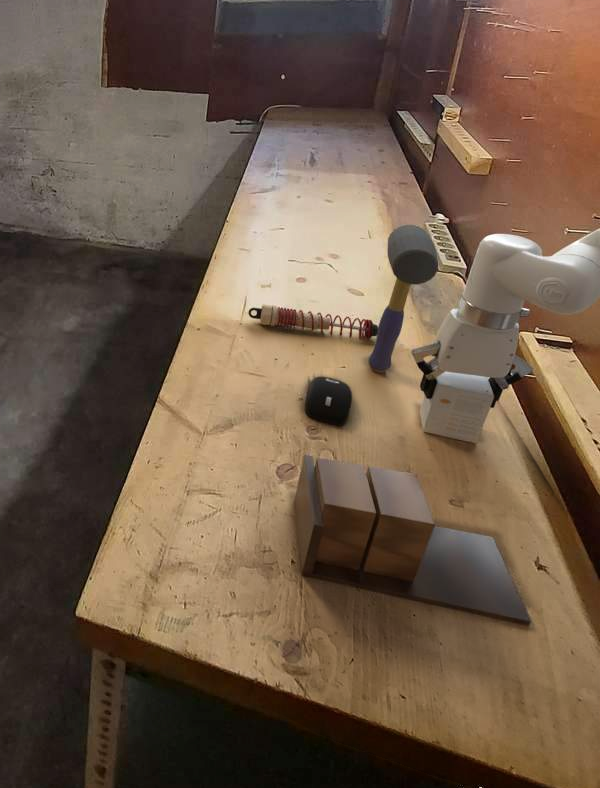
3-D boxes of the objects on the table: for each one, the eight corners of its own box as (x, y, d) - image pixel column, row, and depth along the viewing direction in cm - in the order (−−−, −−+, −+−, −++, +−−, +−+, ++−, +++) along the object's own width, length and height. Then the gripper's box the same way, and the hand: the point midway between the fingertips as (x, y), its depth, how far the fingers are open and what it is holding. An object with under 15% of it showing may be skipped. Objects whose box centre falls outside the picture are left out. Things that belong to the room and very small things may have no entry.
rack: (490, 540, 79) (518, 480, 74) (529, 625, 68) (564, 563, 63) (293, 502, 86) (306, 445, 80) (301, 575, 75) (316, 514, 70)
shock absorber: (392, 320, 123) (249, 300, 131) (398, 324, 118) (249, 303, 127) (389, 341, 123) (246, 320, 132) (395, 346, 119) (247, 324, 127)
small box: (470, 423, 99) (488, 375, 94) (476, 445, 94) (496, 396, 90) (418, 411, 102) (433, 364, 97) (421, 432, 98) (437, 384, 93)
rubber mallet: (401, 393, 107) (447, 253, 93) (357, 383, 110) (395, 246, 96) (396, 355, 117) (436, 224, 103) (356, 347, 120) (390, 218, 106)
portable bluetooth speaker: (352, 390, 108) (356, 373, 106) (346, 430, 99) (351, 412, 97) (310, 378, 111) (314, 362, 109) (301, 416, 102) (304, 399, 100)
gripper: (542, 305, 89) (506, 391, 96) (418, 293, 93) (394, 376, 101) (565, 331, 82) (526, 421, 90) (432, 317, 87) (405, 404, 94)
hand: (456, 397), depth 95 cm, fingers closed on small box, 8 cm apart
